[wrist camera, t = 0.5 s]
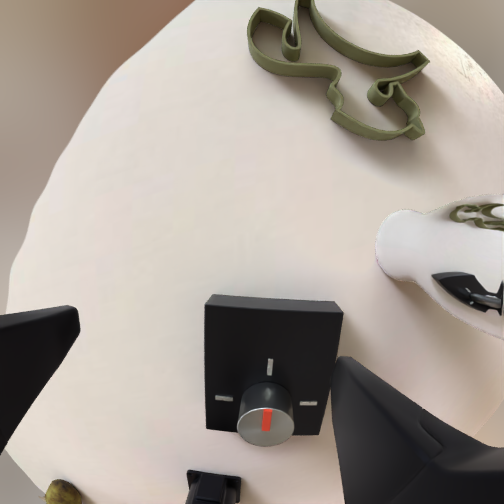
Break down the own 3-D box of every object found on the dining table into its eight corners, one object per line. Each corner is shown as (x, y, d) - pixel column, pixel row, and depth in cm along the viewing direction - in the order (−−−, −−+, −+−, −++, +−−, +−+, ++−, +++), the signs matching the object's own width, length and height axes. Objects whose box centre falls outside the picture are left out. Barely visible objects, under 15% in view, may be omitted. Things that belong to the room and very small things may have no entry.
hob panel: (314, 416, 23) (318, 437, 20) (211, 411, 24) (205, 430, 21) (334, 301, 22) (344, 312, 19) (212, 293, 23) (203, 304, 19)
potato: (96, 499, 28) (80, 525, 20) (81, 507, 30) (67, 528, 22) (60, 471, 28) (40, 495, 20) (50, 483, 30) (34, 503, 22)
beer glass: (428, 289, 21) (551, 348, 7) (362, 280, 22) (479, 358, 7) (441, 213, 21) (575, 212, 6) (376, 196, 21) (511, 166, 6)
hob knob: (288, 420, 20) (290, 450, 16) (240, 417, 20) (235, 447, 17) (294, 383, 20) (298, 411, 16) (242, 380, 20) (237, 408, 16)
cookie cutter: (436, 78, 19) (446, 70, 17) (402, 167, 21) (413, 162, 19) (281, -5, 19) (282, -16, 17) (219, 68, 21) (215, 56, 19)
